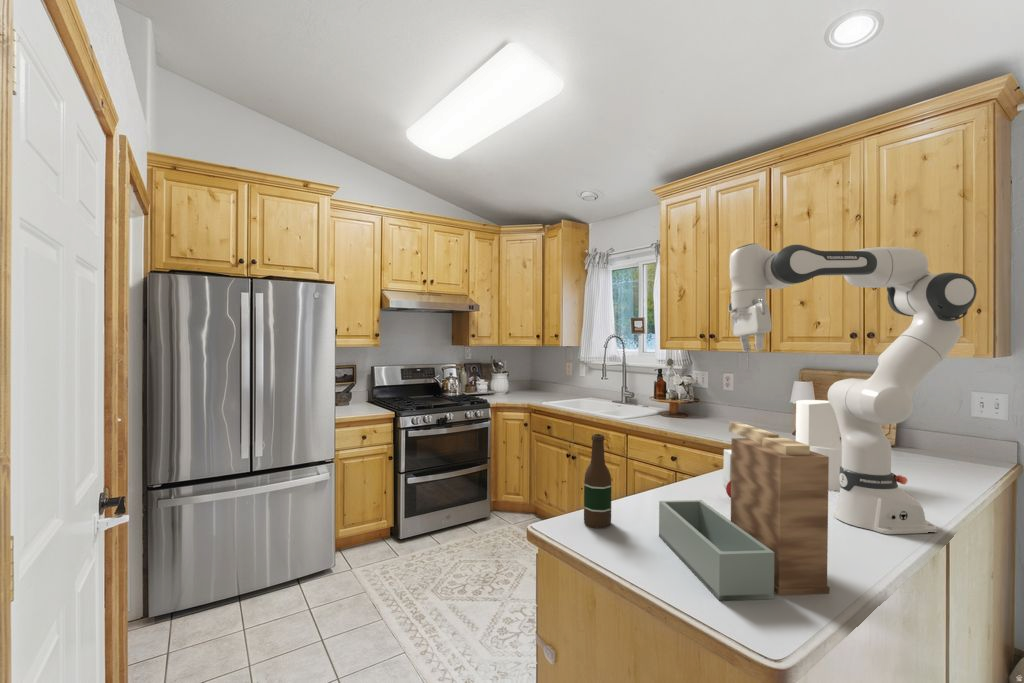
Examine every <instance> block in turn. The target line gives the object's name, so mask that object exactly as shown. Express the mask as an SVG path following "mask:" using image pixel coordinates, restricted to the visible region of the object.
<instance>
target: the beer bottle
mask: <svg viewBox="0 0 1024 683" xmlns="http://www.w3.org/2000/svg"><path fill="white" fill-rule="evenodd" d="M604 441H605V435H604V434H600V433H595V434H592V435H591V442H592V444H591V458H590V464H589V465H588V466H587V468H586V470H585V472H584V473H585V474H584V479H583V480H584V481H583V482H584V483H583V484H584V485H583V524H584V525H585V526H587V527H589V528H591V529H601V530H603V529H605V528H609V527H611V525H612V477H611V473H610V472H611V471H610V469H609V468H608V466H607V465H606V461H605V460H606V459H605V442H604Z"/></svg>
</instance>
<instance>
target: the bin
mask: <svg viewBox="0 0 1024 683" xmlns="http://www.w3.org/2000/svg"><path fill="white" fill-rule="evenodd" d="M658 503H659V504H658V506H659V507H658V509H659V511H658V517H659V518H658V537H659V538H660V539H661V540H662V541H663V542H664V544H665V545H666V546H667V547H668V546H669V549H670V550H671V551H672V552H673V553H674V554H675V555H676V557H677V558H678V559H679V560H681V562H682V563H683V564H684V565H685V566H686V567H687V568H688V569H689V570H690V571H691V572H692V573H693V575H694V576H695V577H697V579H698V580H699V581H700V582H701V584H703V585H704V587H706V589H707V590H708V591H709V592H710V593H711V594H712V595H713V596H714V597H715V599H716V600H718V601H719V602H726V601H727V602H728V601H751V600H752V601H753V600H755V601H756V600H774V599H775V592H774V552H773V551H772V550H770V549H769V548H767V547H766V546H765V545H763V544H762V543H760V542H759V541H758V540H756V539H755V538H753V537H752V536H751V535H749V534H748V533H746V532H745V531H744V530H742V529H741V528H740V527H738V526H737V525H735V524H734V523H733V522H731V519H728V518H727V517H726V516H724V515H723V514H721V513H720V512H719V511H717V510H716V509H714V508H713V507H712V506H710V505H709V504H707V503H706V502H704V501H703V500H701V499H692V500H691V499H690V500H689V499H687V500H683V499H682V500H681V499H679V500H659V502H658Z"/></svg>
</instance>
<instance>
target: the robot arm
mask: <svg viewBox="0 0 1024 683" xmlns="http://www.w3.org/2000/svg"><path fill="white" fill-rule="evenodd" d="M729 255H730V256H729V266H728V268H729V280H730V282H731V290H730V295H731V296H730V302H729V304H728V306H727V307H728V312H729V313H730V321H731V322H730V323H731V329H732V333H733V336H734V337H737V338H738V337H739V341H740V343H741V346H742V352H743V353H747V352H751V351H752V349H751V348H752V347H751V345H750V341H749V340H750V336H754V338H755V339H754V340H755V342H754V350H755V351H756V352H759V351H764V349H765V348H764V342H765V338H766V336H765V334H767V333H771V332H772V329H773V328H772V319H771V311H770V307H769V306H768V302H767V289H768V290H781V289H782V290H783V289H785V288H789V287H790V286H793V285H796V284H801V283H804V282H807V281H809V280H811V279H813V278H815V277H818V276H819V277H820V276H821V277H823V276H826V277H827V276H843V277H844V279H845V281H846V282H847V283H848V284H849V285H850V286H851V287H858V288H867V289H869V288H870V289H874V288H875V289H876V288H886V291H887V292H886V293H887V301H888V302H887V303H888V305H889V307H890V309H891V310H892V311H893V312H895V313H897V314H898V315H902V316H905V317H906V316H907V317H912V318H913V319H912V320H911V324H910V325H909V326H908V328H907V329H906V330H904V331H903V332H902V333H901V334H900V335H899V336H898V337H897V338H896V339H895V340H894V341H892V342H891V344H890V345H888V346H887V348H886V349H885V350H884V351H882V353H881V354H880V355H879V356H878V357H877V363H878V365H877V367H876V369H875V370H874V372H873V374H872V375H871V376H870V377H869V378H867V379H861V378H855V377H853V378H845V379H841V380H838V381H835V382H834V383H833V384H831V386H829V389H828V391H827V401H829V403H830V404H831V406H832V407H833V409H834V411H835V414H836V418H837V422H838V426H839V430H840V442H842V466H840V473H839V482H840V491H839V495H838V501H837V504H836V508H835V511H834V512H833V513H834V514H833V516H834V517H835V518H836V519H837V520H839V521H841V522H843V523H845V524H847V525H852V526H854V527H858V528H862V529H867V530H871V531H874V532H877V533H880V534H885V535H903V534H906V535H907V534H908V535H909V534H929V533H928V532H935V533H937V531H938V530H937V527H936V526H935V525H934V524H933V523H931V522H930V521H928V520H926V516H925V511H924V508H923V506H922V505H921V504H920V502H919V501H918V500H916V499H915V498H914V497H912V496H911V495H909V494H908V493H907V492H906V491H904V490H903V489H902V488H900V487H899V485H898V483H899V484H900V485H906V484H907V483H908V478H907V477H906V476H902V475H899V474H898V475H897V474H895V473H893V472H892V445H891V442H890V440H889V438H887V436H886V435H885V432H884V430H883V427H882V425H892V424H901V423H902V422H904V421H906V420H908V419H909V417H910V416H911V415H912V413H913V408H914V402H913V399H912V398H913V396H914V393H915V391H916V390H917V388H918V386H919V385H920V384H921V382H922V381H923V380H924V379H925V378H926V377H927V376H928V375H929V374H930V373H931V371H933V370H934V369H935V368H936V367H937V366H938V365H939V364H940V363H941V362H942V361H943V360H944V359H946V357H947V356H948V354H950V352H952V350H953V348H954V347H955V345H957V343H958V342H959V340H960V338H962V337H961V336H962V335H963V330H962V326H961V324H960V323H959V322H958V320H960V319H962V318H964V317H965V316H966V315H967V314H968V311H969V309H970V308H971V307H972V305H973V304H974V302H975V300H976V296H977V291H978V288H977V284H976V283H975V281H974V280H973V279H972V278H971V277H970V276H968V275H966V274H964V273H963V274H962V273H957V272H943V273H933V274H932V273H931V272H930V270H929V261H928V260H929V259H928V258H927V255H925V253H924V252H923V251H921V250H918V249H915V248H910V247H902V246H900V247H899V246H876V247H866V248H861V249H856V250H819V249H815V248H812V247H810V246H806V245H804V244H803V245H802V244H791V245H788V246H786V247H784V248H782V249H781V250H779V251H778V252H775V251H772V250H768V249H767V248H764V247H763V246H761V245H760V244H759V243H748V244H745V245H742V246H739V247H736V249H734V250H733V251H731V253H730V254H729Z"/></svg>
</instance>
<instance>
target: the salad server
mask: <svg viewBox="0 0 1024 683" xmlns="http://www.w3.org/2000/svg"><path fill="white" fill-rule="evenodd" d="M728 422H729V423H728V431H729V433H732V434H735V435H737V436H740V437H742V438H748V439H751V440H754V441H756V442H759V443H762V446H764V447H767V448H769V449H772V450H775V451H777V452H780V453H783V454H785V455H810V446H809V445H806V444H803V443H800V442H797V441H796V440H793V439H790V438H787V437H785V436H784V437H782V436H781V437H779V436H780V435H779V434H778V433H775V432H771V431H768V430H765V429H762V428H759V427H756V426H752V425H750V424H746V423H743V422H740V421H728Z"/></svg>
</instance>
